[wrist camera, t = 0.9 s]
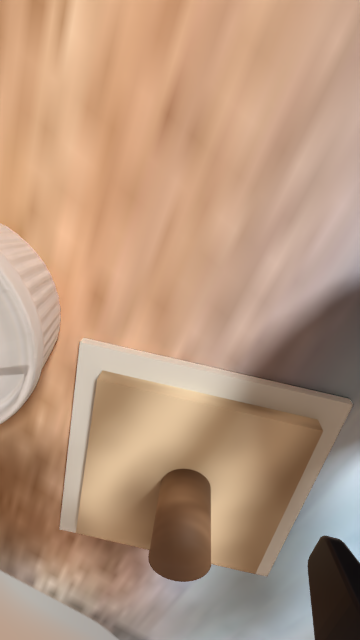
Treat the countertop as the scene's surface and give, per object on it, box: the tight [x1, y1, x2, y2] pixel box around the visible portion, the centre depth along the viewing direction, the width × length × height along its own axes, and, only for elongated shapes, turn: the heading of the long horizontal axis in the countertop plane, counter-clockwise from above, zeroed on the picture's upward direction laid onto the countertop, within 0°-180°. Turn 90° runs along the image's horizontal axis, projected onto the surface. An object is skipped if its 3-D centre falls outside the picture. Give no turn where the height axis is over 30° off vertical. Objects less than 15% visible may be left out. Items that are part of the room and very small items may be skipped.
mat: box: [59, 338, 353, 576], centre depth 23 cm, size 16×16×1 cm
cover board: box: [76, 370, 323, 582], centre depth 20 cm, size 13×13×6 cm
